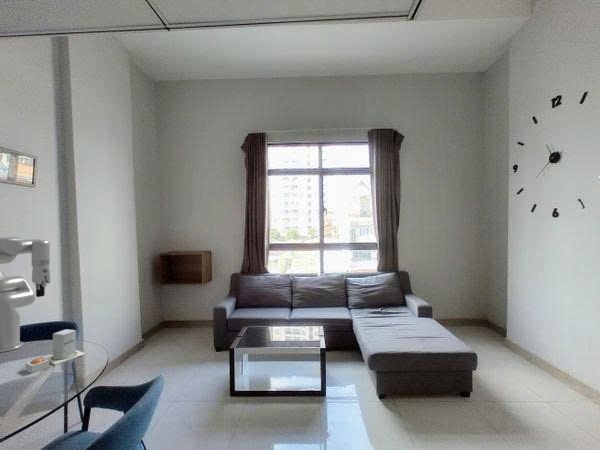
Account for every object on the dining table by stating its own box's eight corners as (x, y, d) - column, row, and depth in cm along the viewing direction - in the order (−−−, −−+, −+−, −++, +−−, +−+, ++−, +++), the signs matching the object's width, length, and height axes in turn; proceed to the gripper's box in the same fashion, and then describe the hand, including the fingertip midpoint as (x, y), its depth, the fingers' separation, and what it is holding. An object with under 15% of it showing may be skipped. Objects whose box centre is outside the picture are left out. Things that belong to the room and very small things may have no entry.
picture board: (42, 359, 162) (42, 357, 162) (72, 349, 174) (72, 347, 174) (55, 365, 155) (55, 363, 155) (85, 355, 167) (85, 353, 167)
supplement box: (62, 358, 160) (63, 334, 160) (52, 356, 162) (52, 333, 162) (76, 352, 167) (76, 330, 167) (65, 351, 169) (66, 328, 169)
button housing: (25, 369, 150) (25, 362, 150) (42, 363, 156) (42, 357, 156) (31, 373, 147) (31, 366, 147) (49, 367, 153) (49, 360, 153)
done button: (30, 366, 151) (30, 360, 151) (40, 363, 154) (40, 357, 154) (34, 368, 149) (34, 362, 149) (44, 365, 152) (44, 359, 152)
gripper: (55, 263, 166) (55, 296, 166) (42, 261, 173) (42, 293, 174) (38, 265, 160) (38, 299, 160) (25, 262, 167) (25, 295, 167)
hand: (40, 296), depth 167 cm, fingers closed
